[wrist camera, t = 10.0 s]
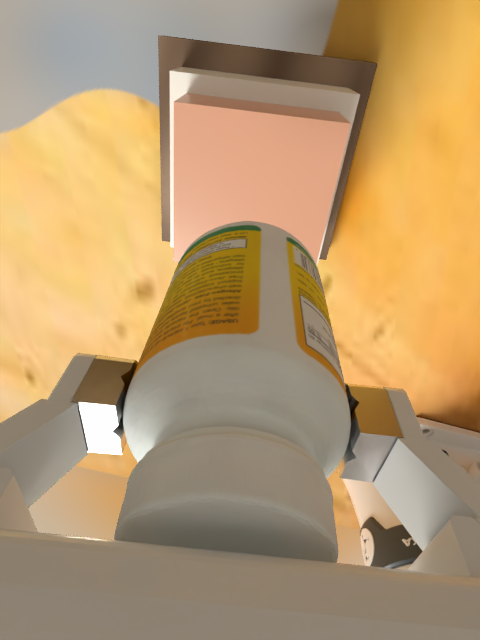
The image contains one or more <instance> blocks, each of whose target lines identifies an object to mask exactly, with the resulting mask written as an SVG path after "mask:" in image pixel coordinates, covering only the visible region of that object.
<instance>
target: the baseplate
mask: <svg viewBox="0 0 480 640" xmlns="http://www.w3.org/2000/svg"><path fill="white" fill-rule="evenodd" d="M158 47H159V95H160V96H159V99H160V155H161V208H162V241H169V242H170V70H173V69H176V68H180V67H187V68H195V69H203V70H211V71H219V72H227V73H235V74H243V75H251V76H259V77H267V78H275V79H283V80H291V81H298V82H306V83H314V84H322V85H330V86H338V87H346V88H349V89H351V90H353V91H355V92H357V93H358V94H360V97H359V101H358V105H357V109H356V113H355V117H354V121H353V125H352V129H351V133H350V137H349V141H348V145H347V149H346V153H345V157H344V162H343V166H342V170H341V174H340V178H339V182H338V186H337V190H336V194H335V198H334V202H333V206H332V210H331V214H330V218H329V222H328V226H327V230H326V234H325V238H324V242H323V246H322V250H321V254H320V258H319V259H323V260H326V258H327V254H328V250H329V247H330V243H331V239H332V235H333V231H334V227H335V224H336V220H337V216H338V212H339V208H340V205H341V201H342V197H343V193H344V189H345V186H346V182H347V178H348V174H349V170H350V166H351V163H352V159H353V155H354V151H355V147H356V144H357V140H358V136H359V132H360V128H361V124H362V121H363V117H364V113H365V109H366V105H367V102H368V98H369V94H370V90H371V86H372V82H373V79H374V75H375V71H376V67H377V63H373V62H366V61H358V60H350V59H342V58H334V57H326V56H318V55H310V54H303V53H295V52H286V51H279V50H270V49H263V48H256V47H247V46H240V45H232V44H223V43H215V42H208V41H200V40H193V39H192V40H191V39H185V38H177V37H168V36H158Z"/></svg>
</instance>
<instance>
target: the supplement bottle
mask: <svg viewBox="0 0 480 640" xmlns="http://www.w3.org/2000/svg"><path fill="white" fill-rule="evenodd" d="M123 426H124V432H125V436H126V439H127V443H128V445H129V447H130V450H131V452H132V454H133V455H134V457H135V458H136V460H137V462H138V464H137V465H136V467H135V468H134V469H133V471H132V473H131V475H130V477H129V480H128V483H127V489H126V494H125V498H124V501H123V504H122V508H121V512H120V515H119V519H118V523H117V526H116V531H115V536H114V539H115V540H118V541H128V542H138V543H148V544H157V545H167V546H177V547H187V548H197V549H207V550H216V551H226V552H236V553H246V554H255V555H265V556H275V557H284V558H294V559H304V560H314V561H323V562H333V563H337V558H338V545H337V536H336V528H335V520H334V512H333V496H332V491H331V488H330V485H329V483H328V481H327V478H328V477H329V476H330V475H331V474H332V473H333V472H334V470H335V469H336V468H337V466H338V465H339V463H340V461H341V460H342V458H343V456H344V454H345V452H346V449H347V446H348V443H349V438H350V430H351V415H350V408H349V403H348V398H347V393H346V388H345V383H344V379H343V374H342V370H341V366H340V362H339V357H338V352H337V348H336V344H335V340H334V336H333V332H332V327H331V323H330V318H329V313H328V309H327V305H326V300H325V296H324V291H323V287H322V283H321V279H320V275H319V272H318V268H317V266H316V263H315V261H314V259H313V257H312V256H311V254H310V253H309V251H308V250H307V248H306V247H305V246H304V245H303V244H302V243H301V242H300V241H299V240H298V239H297V238H296V237H294V236H293V235H291V234H290V233H288V232H287V231H285V230H283V229H281V228H279V227H276V226H274V225H271V224H267V223H262V222H255V221H240V222H234V223H230V224H225V225H223V226H219V227H217V228H214V229H212V230H210V231H208V232H206V233H204V234H203V235H201V236H200V237H199V238H197V239H196V240H195V241H194V242H193V243H192V244H191V245H190V246H189V247H188V248H187V249H186V251H185V252H184V254H183V256H182V257H181V259H180V261H179V263H178V266H177V268H176V270H175V272H174V276H173V278H172V281H171V283H170V286H169V288H168V291H167V293H166V296H165V298H164V301H163V303H162V306H161V308H160V311H159V314H158V316H157V319H156V321H155V323H154V326H153V328H152V331H151V333H150V336H149V338H148V340H147V343H146V346H145V348H144V350H143V353H142V356H141V358H140V360H139V362H138V365H137V368H136V370H135V373H134V375H133V378H132V380H131V383H130V386H129V389H128V391H127V395H126V398H125V403H124V409H123Z"/></svg>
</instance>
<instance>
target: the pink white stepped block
mask: <svg viewBox="0 0 480 640" xmlns="http://www.w3.org/2000/svg"><path fill="white" fill-rule="evenodd" d="M359 97H360V94H358V93H357V92H355V91H353V90H351V89H349V88H346V87H338V86H330V85H322V84H314V83H306V82H298V81H291V80H283V79H275V78H267V77H259V76H251V75H243V74H235V73H227V72H219V71H211V70H203V69H195V68H187V67H180V68H176V69H173V70H170V247H174V262H179V261H180V259H181V257H182V256H183V254H184V252H185V251H186V249H187V248H188V247H189V246H190V245H191V244H192V243H193V242H194V241H195V240H196V239H197V238H199V237H200V236H201V235H203V234H204V233H206V232H208V231H210V230H212V229H214V228H217V227H219V226H223V225H225V224H230V223H234V222H240V221H255V222H262V223H267V224H271V225H274V226H276V227H279V228H281V229H283V230H285V231H287V232H288V233H290V234H291V235H293V236H294V237H296V238H297V239H298V240H299V241H300V242H301V243H302V244H303V245H304V246H305V247H306V248H307V250H308V251H309V253H310V254H311V256H312V257H313V259H314V261H315V263H316V264H318V262H319V258H320V254H321V250H322V246H323V242H324V238H325V234H326V230H327V226H328V222H329V218H330V214H331V210H332V206H333V202H334V198H335V194H336V190H337V186H338V182H339V178H340V174H341V170H342V166H343V162H344V157H345V153H346V149H347V145H348V141H349V137H350V133H351V129H352V125H353V121H354V117H355V113H356V109H357V105H358V101H359Z"/></svg>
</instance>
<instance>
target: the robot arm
mask: <svg viewBox="0 0 480 640" xmlns="http://www.w3.org/2000/svg"><path fill="white" fill-rule="evenodd" d="M137 365H138V362H137V361H136V360H130V359H123V358H115V357H108V356H101V355H98V356H97V355H90V354H83V353H78V354H77V355H75V356H74V357H73V359H72V360H71V362H70V363H69V365H68V367H67V368H66V370H65V372H64V373H63V375H62V377H61V378H60V380H59V381H58V383H57V385H56V386H55V388H54V390H53V391H52V393H51V395H50V396H49V398H48V399H41V400H39V401H37V402H35V403H34V404H32V405H30V406H29V407H27V408H25V409H24V410H22V411H20V412H18V413H17V414H15V415H13V416H12V417H10V418H8V419H7V420H5V421H3V422H1V423H0V640H480V433H478V432H474V431H471V430H467V429H463V428H459V427H455V426H451V425H447V424H443V423H440V422H436V421H432V420H428V419H424V418H419V417H416V415H415V412H414V410H413V408H412V405H411V403H410V400H409V398H408V396H407V393H406V392H405V391H404V390H403V389H396V388H386V387H383V388H382V387H375V386H365V385H356V384H346V383H345V388H346V393H347V398H348V403H349V408H350V415H351V430H350V438H349V443H348V446H347V449H346V452H345V454H344V456H343V458H342V460H341V461H340V463H339V465H338V471H339V475H340V478H342V480H343V482H344V484H345V486H346V488H347V490H348V493H349V495H350V497H351V500H352V503H353V506H354V509H355V512H356V515H357V518H358V521H359V524H360V528H361V530H360V536H361V547H362V553H363V558H364V562H365V565H366V566H362V565H352V564H343V563H333V562H323V561H314V560H304V559H294V558H284V557H275V556H265V555H255V554H246V553H236V552H226V551H216V550H207V549H197V548H187V547H177V546H167V545H157V544H148V543H138V542H128V541H118V540H108V539H98V538H88V537H78V536H68V535H58V534H49V533H39V532H38V531H37V528H36V526H35V524H34V521H33V519H32V517H31V514H30V512H29V510H28V508H29V507H30V506H31V505H32V504H33V503H34V502H36V501H37V500H38V499H39V498H40V497H41V496H42V495H43V494H44V493H45V492H47V491H48V490H49V489H50V488H51V487H52V486H53V485H54V484H55V483H56V482H58V481H59V480H60V479H61V478H62V477H63V476H64V475H65V474H66V473H67V472H69V471H70V470H71V469H72V468H73V467H74V466H75V465H76V464H77V463H78V462H80V461H81V460H82V459H83V458H84V457H85V456H86V455H87V454H88V453H87V452H93V453H106V454H118V455H122V453H123V450H124V447H125V444H126V441H127V439H126V436H125V432H124V426H123V409H124V403H125V398H126V395H127V391H128V389H129V386H130V383H131V380H132V378H133V375H134V373H135V370H136V368H137Z"/></svg>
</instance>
